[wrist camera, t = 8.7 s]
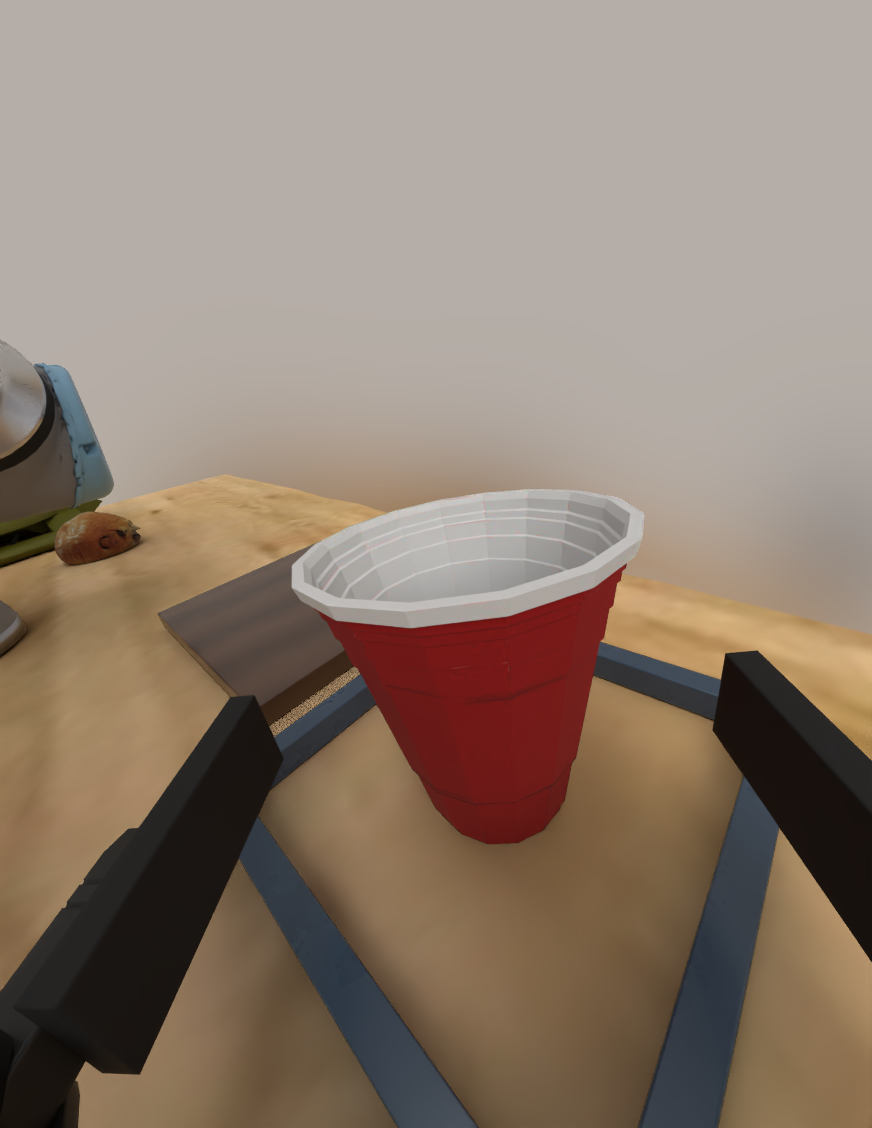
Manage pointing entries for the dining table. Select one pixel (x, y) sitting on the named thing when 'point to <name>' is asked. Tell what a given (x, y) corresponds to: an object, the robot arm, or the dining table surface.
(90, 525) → the bread roll
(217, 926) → the dining table surface
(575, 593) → the plastic cup
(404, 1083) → the square frame
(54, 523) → the spaceship
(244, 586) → the walnut board
